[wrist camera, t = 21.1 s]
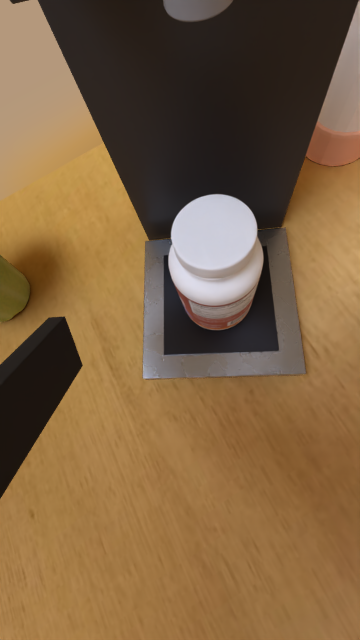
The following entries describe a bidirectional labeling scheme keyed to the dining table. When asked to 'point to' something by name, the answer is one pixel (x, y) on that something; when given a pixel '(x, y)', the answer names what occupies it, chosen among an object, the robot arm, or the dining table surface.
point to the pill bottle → (215, 260)
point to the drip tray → (229, 344)
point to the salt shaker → (341, 107)
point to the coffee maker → (203, 94)
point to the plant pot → (12, 290)
